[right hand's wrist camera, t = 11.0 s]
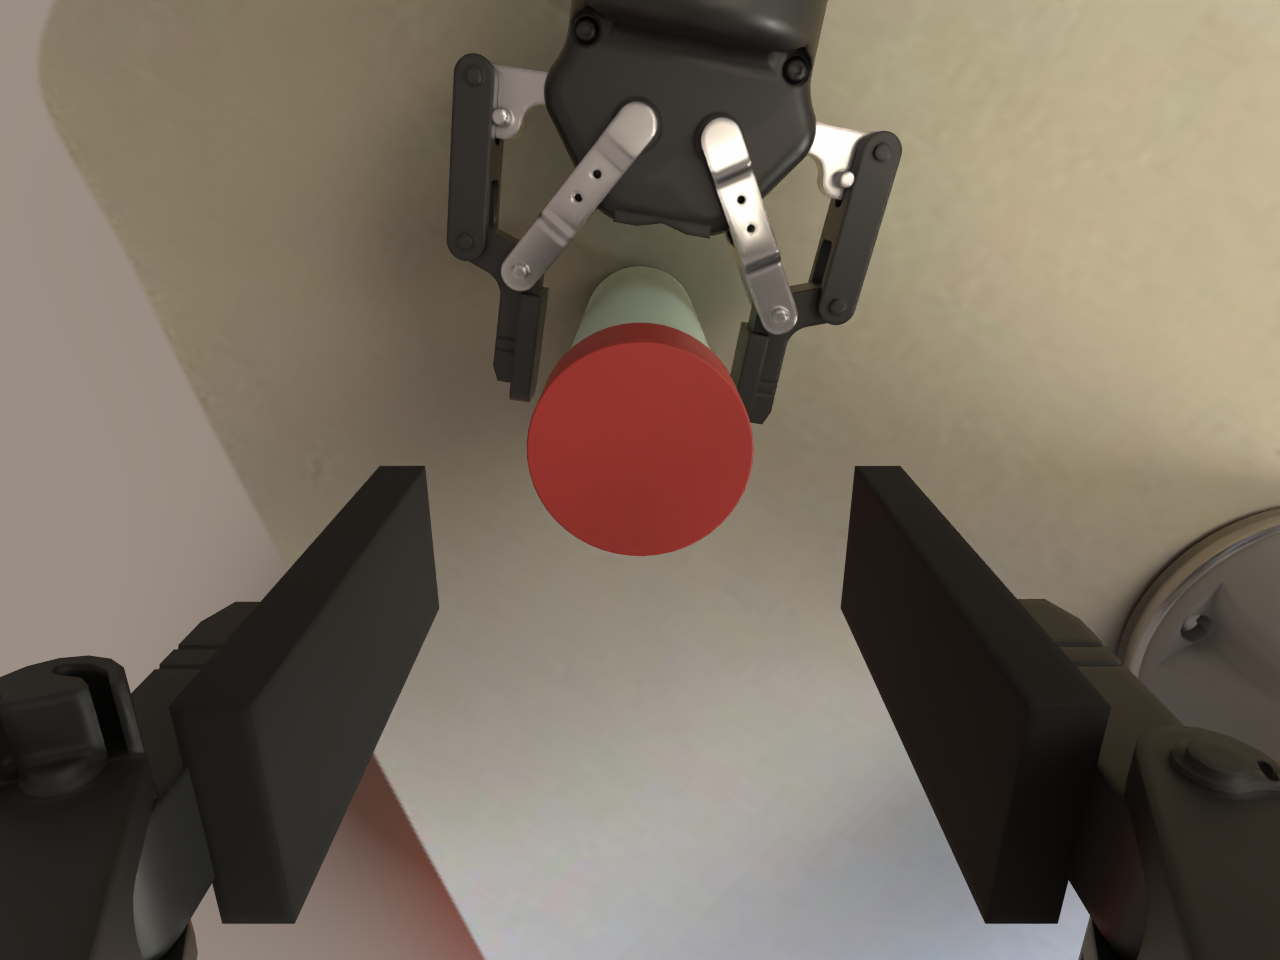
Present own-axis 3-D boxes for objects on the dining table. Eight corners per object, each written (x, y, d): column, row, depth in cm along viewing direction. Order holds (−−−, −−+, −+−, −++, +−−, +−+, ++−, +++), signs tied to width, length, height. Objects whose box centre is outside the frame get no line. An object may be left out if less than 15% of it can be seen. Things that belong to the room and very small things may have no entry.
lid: (576, 537, 22) (569, 581, 19) (509, 357, 20) (493, 381, 18) (762, 485, 21) (777, 522, 19) (710, 294, 19) (720, 311, 17)
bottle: (605, 388, 35) (577, 560, 20) (570, 285, 34) (511, 383, 18) (707, 357, 35) (761, 508, 19) (677, 251, 33) (710, 322, 18)
